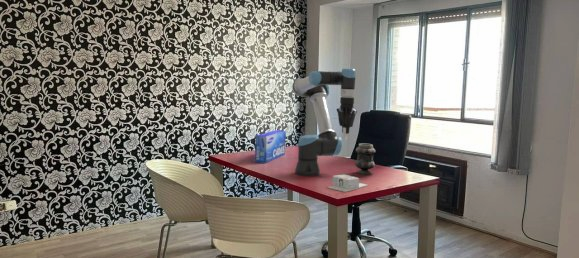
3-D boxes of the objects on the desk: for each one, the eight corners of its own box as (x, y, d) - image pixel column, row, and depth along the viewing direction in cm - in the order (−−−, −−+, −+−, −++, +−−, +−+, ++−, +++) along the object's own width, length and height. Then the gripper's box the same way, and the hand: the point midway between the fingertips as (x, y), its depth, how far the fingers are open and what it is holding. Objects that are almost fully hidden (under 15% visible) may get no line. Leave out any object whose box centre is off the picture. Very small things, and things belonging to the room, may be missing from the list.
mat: (328, 188, 231) (328, 186, 231) (351, 182, 245) (351, 181, 245) (345, 192, 224) (345, 190, 223) (367, 185, 238) (367, 184, 238)
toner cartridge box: (265, 163, 294) (266, 136, 292) (254, 162, 297) (254, 135, 295) (285, 154, 330) (286, 130, 328) (275, 153, 333) (275, 129, 331)
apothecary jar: (378, 173, 270) (379, 144, 268) (366, 176, 262) (367, 146, 260) (362, 170, 279) (363, 142, 277) (350, 172, 270) (351, 143, 268)
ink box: (344, 173, 241) (359, 177, 232) (343, 182, 242) (359, 187, 232) (332, 175, 236) (348, 179, 227) (332, 184, 236) (347, 189, 227)
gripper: (333, 96, 244) (332, 138, 247) (352, 97, 234) (350, 141, 238) (342, 95, 249) (340, 136, 252) (361, 97, 240) (358, 140, 243)
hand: (345, 139), depth 245 cm, fingers closed
